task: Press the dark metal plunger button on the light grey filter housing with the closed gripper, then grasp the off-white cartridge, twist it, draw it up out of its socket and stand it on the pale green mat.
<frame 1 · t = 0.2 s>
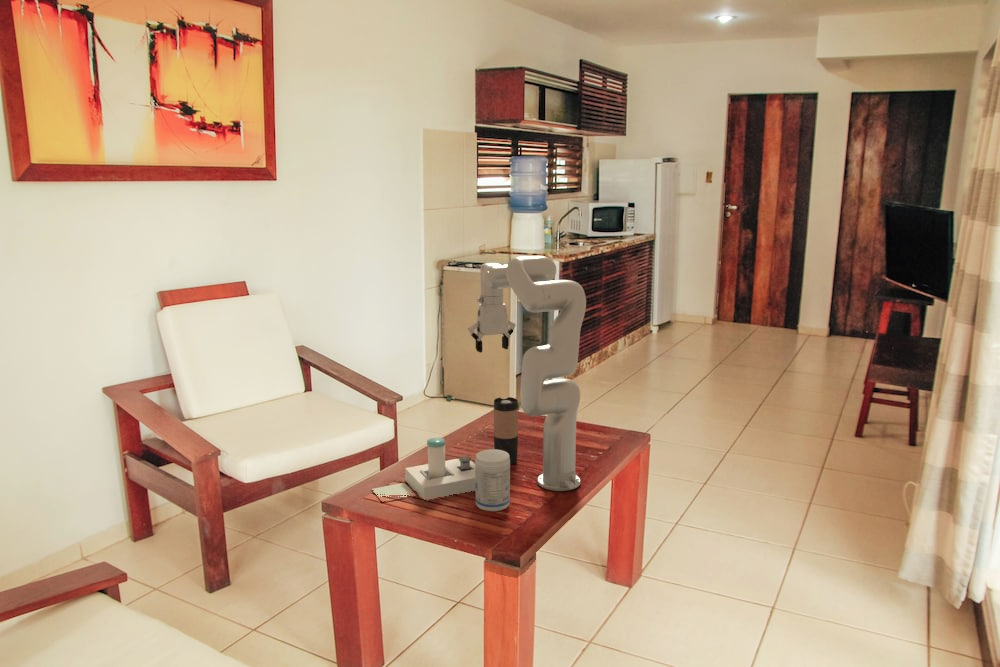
hand: (492, 350, 257), 31 cm above the table, tool pointing down, fingers open, 9 cm apart
plunger: (465, 466, 225), point 5 cm above the table, slide at 0.0 cm
mat: (393, 493, 218), on the table
travel mug: (505, 461, 242), on the table
supplement tub: (492, 505, 210), on the table
cartridge: (437, 486, 222), resting in housing
housing: (446, 484, 224), on the table
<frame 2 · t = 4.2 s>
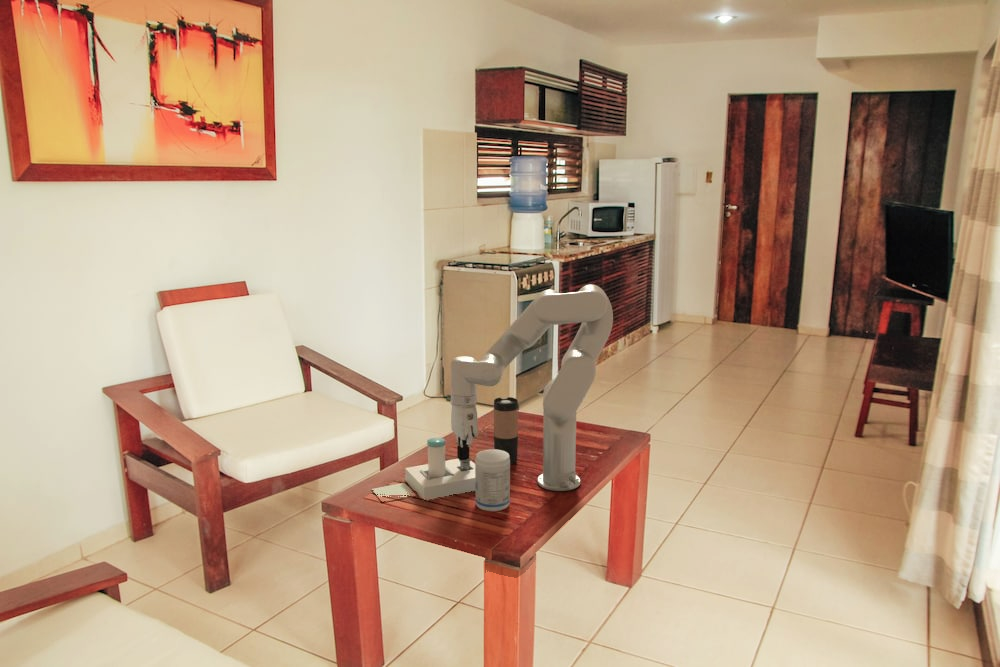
hand: (463, 458, 225), 7 cm above the table, tool pointing down, fingers closed
plunger: (465, 466, 225), point 5 cm above the table, slide at 0.0 cm, touching gripper
everything else where it was.
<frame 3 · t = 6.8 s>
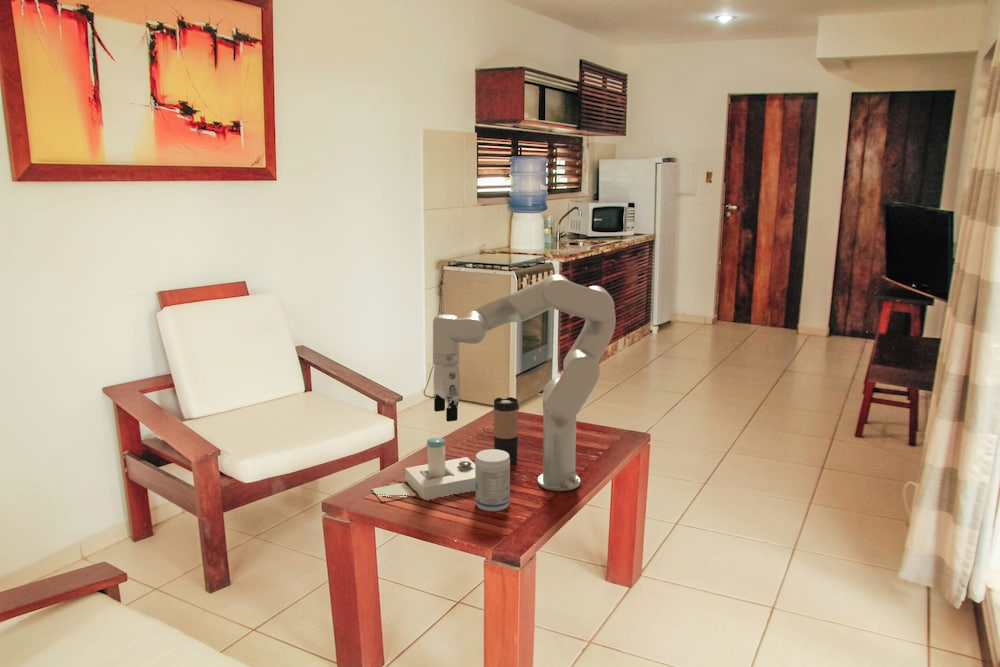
hand: (445, 415, 220), 21 cm above the table, tool pointing down, fingers open, 9 cm apart
plunger: (465, 471, 226), point 3 cm above the table, slide at 1.6 cm
everything else where it was.
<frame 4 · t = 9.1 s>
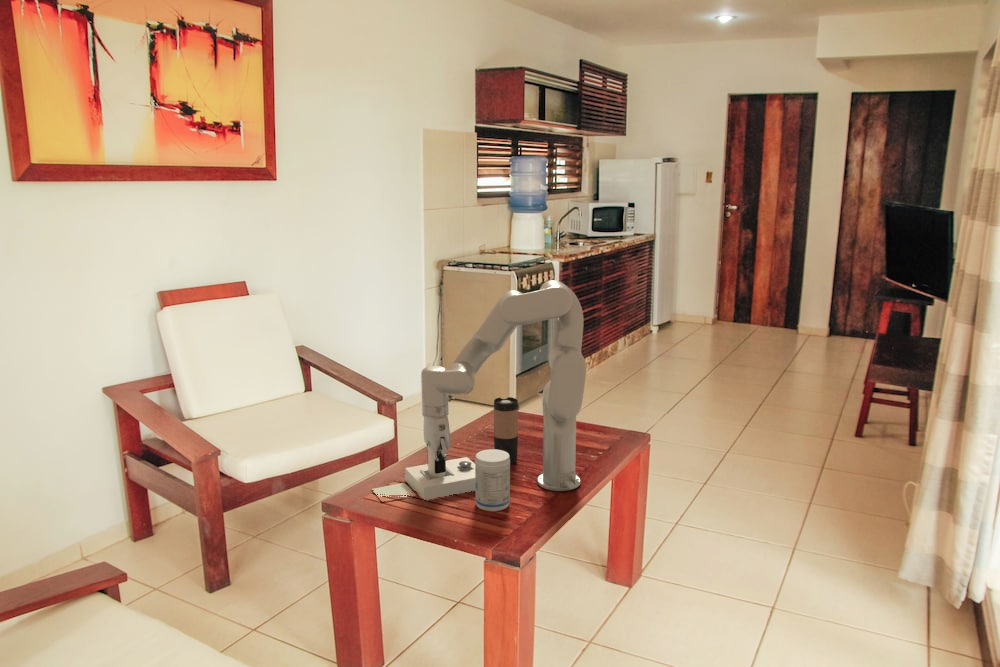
hand: (436, 468, 221), 5 cm above the table, tool pointing down, fingers closed on cartridge, 5 cm apart
cartridge: (437, 486, 222), resting in housing, touching gripper
everything else where it was.
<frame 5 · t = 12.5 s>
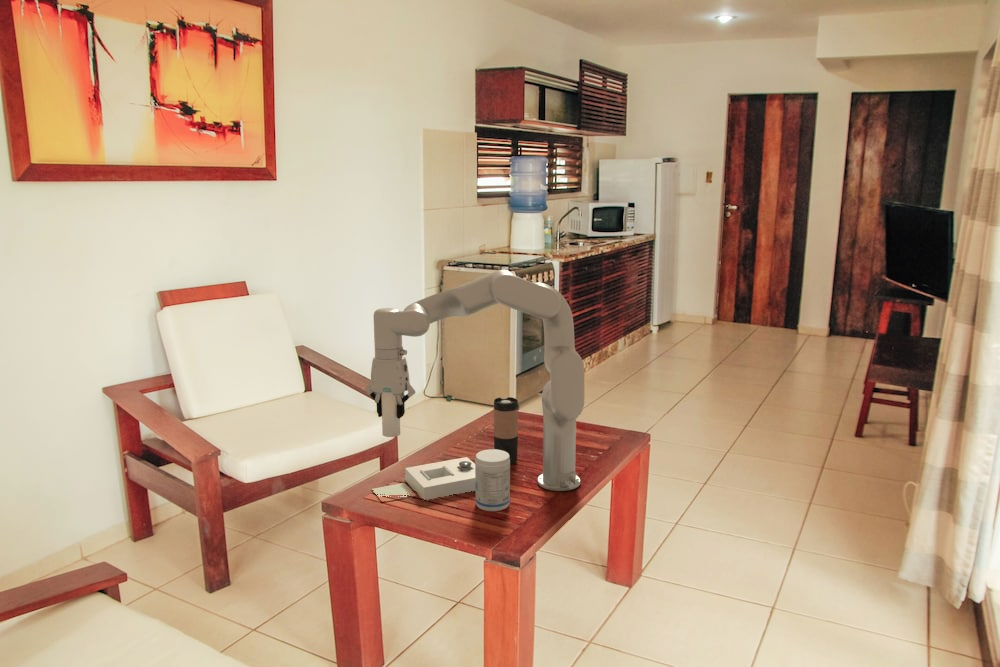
hand: (390, 415, 213), 23 cm above the table, tool pointing down, fingers closed on cartridge, 5 cm apart
cartridge: (391, 434, 214), point 18 cm above the table, touching gripper
everything else where it was.
when the fingers open (7 cm above the table, at t = 15.9 s): cartridge drops 1 cm, resting on mat.
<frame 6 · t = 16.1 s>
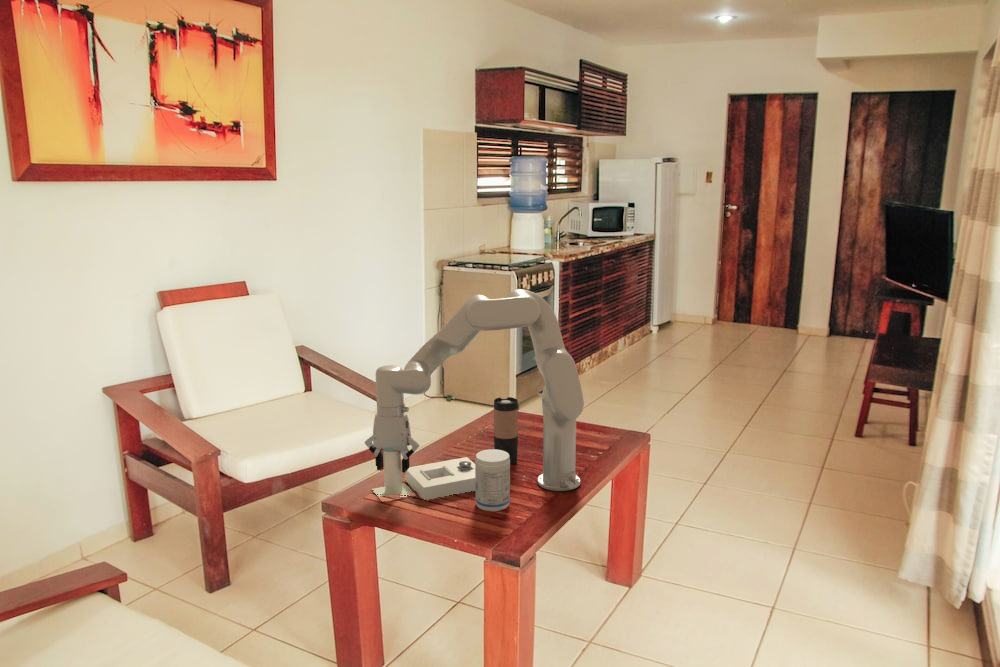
hand: (392, 469, 216), 7 cm above the table, tool pointing down, fingers open, 7 cm apart
cartridge: (393, 491, 218), resting on mat
everything else where it was.
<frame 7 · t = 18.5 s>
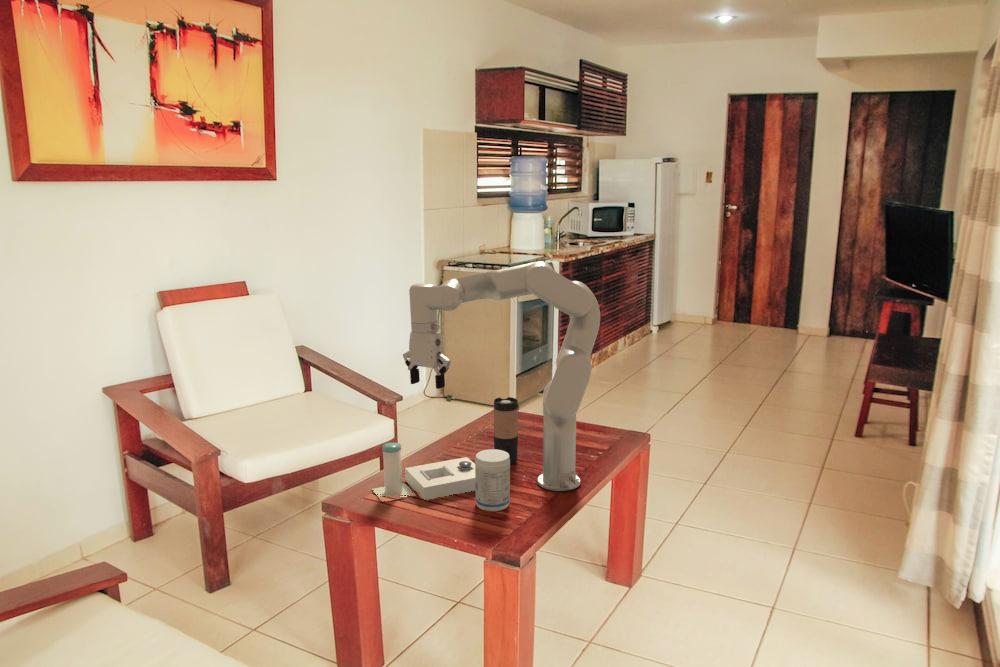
hand: (427, 385, 219), 30 cm above the table, tool pointing down, fingers open, 9 cm apart
nothing on the table moved.
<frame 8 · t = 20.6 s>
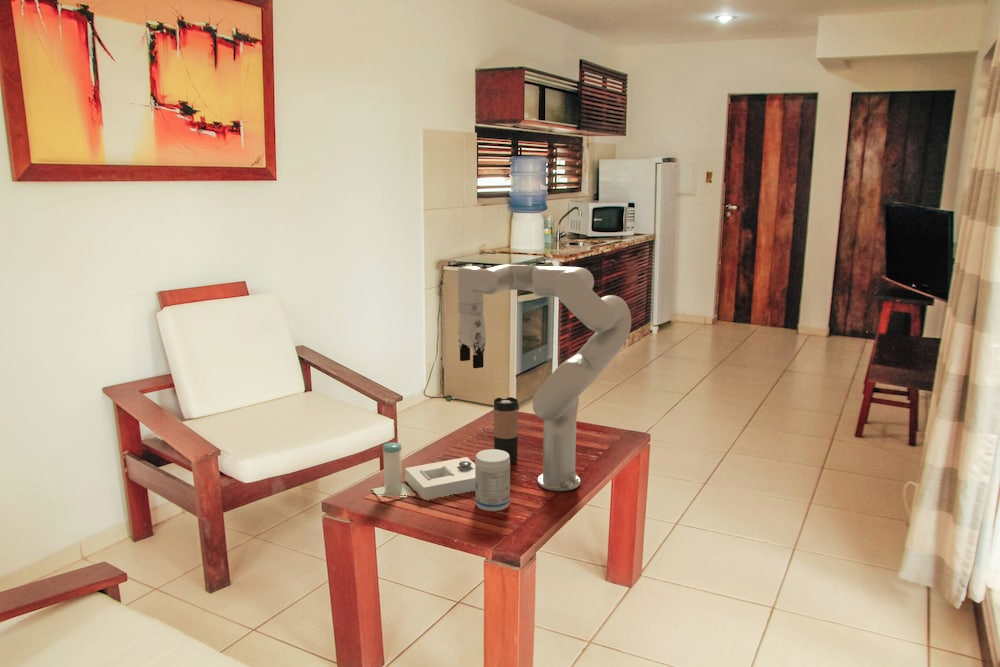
hand: (471, 364, 229), 33 cm above the table, tool pointing down, fingers open, 9 cm apart
nothing on the table moved.
at the end: cartridge inside the target area on the mat (0.0 cm from its centre), point 0.3 cm above the mat's base; cartridge tilted 0°; plunger slide at 1.6 cm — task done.
